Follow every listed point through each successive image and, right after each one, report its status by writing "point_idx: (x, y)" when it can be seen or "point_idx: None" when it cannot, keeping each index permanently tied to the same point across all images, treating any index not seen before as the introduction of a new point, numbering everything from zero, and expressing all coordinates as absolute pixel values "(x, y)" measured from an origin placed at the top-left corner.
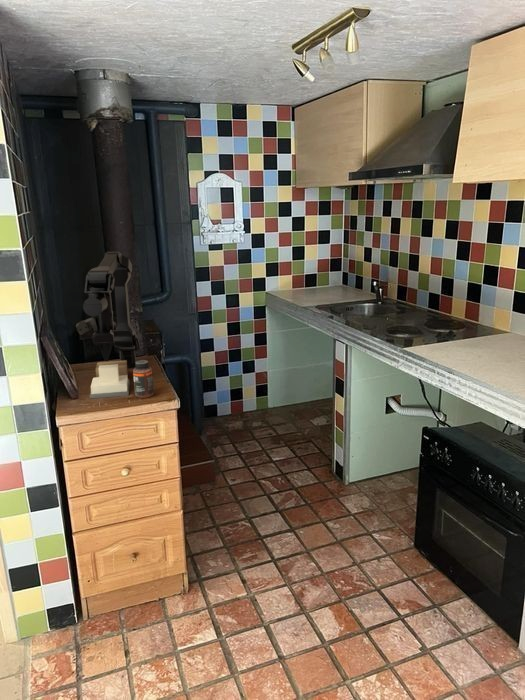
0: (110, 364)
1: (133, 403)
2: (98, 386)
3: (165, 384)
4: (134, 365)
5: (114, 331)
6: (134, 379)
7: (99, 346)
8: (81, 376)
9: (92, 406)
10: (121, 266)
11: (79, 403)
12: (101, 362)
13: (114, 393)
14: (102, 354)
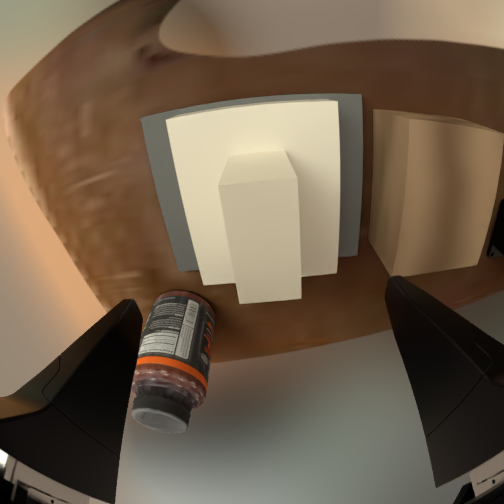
0: (458, 200)
1: (112, 287)
2: (174, 160)
3: (286, 352)
4: (494, 250)
5: (466, 473)
6: (143, 343)
7: (7, 400)
8: (464, 48)
9: (69, 160)
10: None
11: (94, 94)
12: (497, 153)
13: (181, 219)
14: (78, 341)
